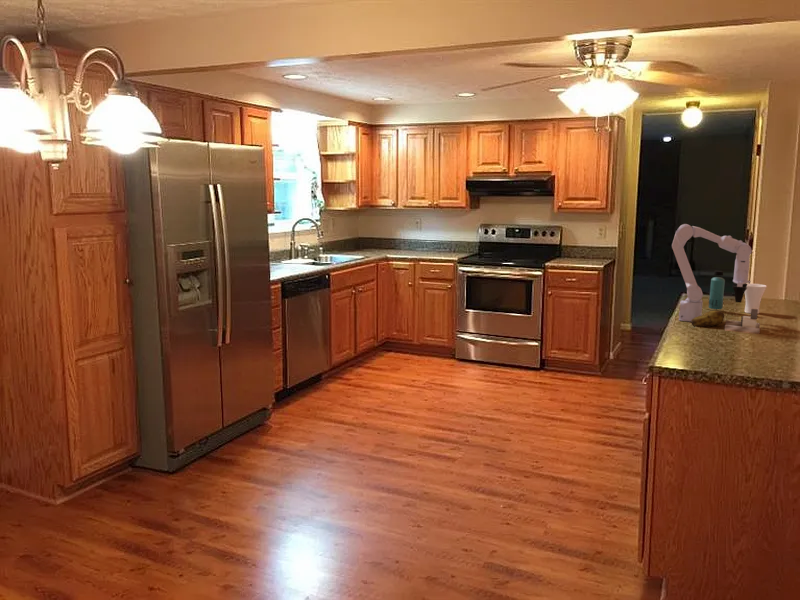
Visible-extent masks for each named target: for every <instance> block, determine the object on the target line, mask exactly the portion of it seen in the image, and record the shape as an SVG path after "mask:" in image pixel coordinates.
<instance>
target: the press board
mask: <svg viewBox="0 0 800 600" xmlns="http://www.w3.org/2000/svg"><path fill="white" fill-rule="evenodd" d="M760 326H761V325H760V323H759V322H756V328H753V327H742V326H741V320H739V321H738V320H729V319H728V320H727V319H726V320H725V325H724V331H726V332H727V331H728V332H735V333H746V334H747V333H748V334H758V335H760V333H761V332H760V331H761V328H760Z"/></svg>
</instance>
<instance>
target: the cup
mask: <svg viewBox="0 0 800 600" xmlns="http://www.w3.org/2000/svg"><path fill="white" fill-rule="evenodd" d="M746 284H747V286H746V287H747V289H746V290H745V292H744V296H745V299H744V300H745V307H744V312H745V313H747V314H751V309H758V313H757V314H760V307H761V301H762V297H763V295H764V294H765V291H766V289H767V287H768V286H767V285H765V284H761V283H746Z"/></svg>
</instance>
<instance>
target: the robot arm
mask: <svg viewBox="0 0 800 600" xmlns="http://www.w3.org/2000/svg"><path fill="white" fill-rule="evenodd" d="M692 237H693V238H703V239H706V240H708V241H711V242H714V243H717V245H718V247H719V248H721V249H723V250H725V251H727V252H730V253H732V254H736V255H735V260H734V270H733V279H732V282H733V285H732V289H733V290H734V298H735V299H734V301H735V303H742V300H743V297H744V295H745V293H744V292H745V290H746V289H747V287H746V286H747V283H750V284H752V282H751V280H749V274H750V273H749V271H750V263H751V261H750V259H751V255H752V252H753V250H752V247H751V246H750V245H749V244H748V243H746V242H743V240H741V239H740V240H738V239H736V238H733V236H731V235H723V236H720V235H719V234H718V235H717V234H715V233H713V232H711V231H708V230H706V229H704V228H701V227H700V226H694V225H692V226H691V225H690V224H687V223H683V224H681V225H680V226H679V227H678V228H677V230H675V234H674V237H673V240H672V243H671V249H672V250H673V253H674V256H675V260H676V262H677V264H678V267H679V269H680V272H681V276H682V278H683V281H684V283H685V287H686V294H687V297H686V298H685V300H683V299H681V300H680V303H679V304H680V305H679V311H678V321H680V322H681V321H684V322H692V319H694V318H695V317H698V316H702V315H703V314H702V313H703V312H702V311H703V304H704V303H703V302H704V301H703V299H702V298H703V296H704V293H703V291H702V288H701V287H700V285H698V283H697V280H696V277H695V275H694V273H693V270H692V267H691V264H690V261H689V259H688V257H687V254H686V252H685V248H684V246H685V245H686V243H687V241H688V240H690V239H691V238H692Z"/></svg>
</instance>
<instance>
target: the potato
mask: <svg viewBox="0 0 800 600" xmlns="http://www.w3.org/2000/svg"><path fill="white" fill-rule="evenodd" d="M724 319H725V314H724V312H722V311H721V310H719V309H711V310H710V311H707V312H705V313H704V314H702V315H701V316H698V317H695V318H694V319H692V321H690V322H691V325H692V326H693V327H694V328H695V327H713V326H717V325H720V324H723V322H724Z"/></svg>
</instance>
